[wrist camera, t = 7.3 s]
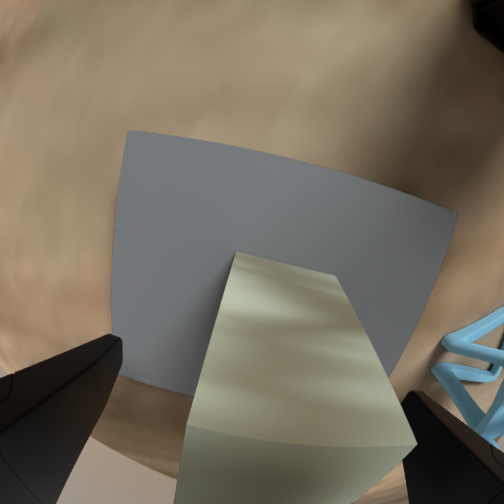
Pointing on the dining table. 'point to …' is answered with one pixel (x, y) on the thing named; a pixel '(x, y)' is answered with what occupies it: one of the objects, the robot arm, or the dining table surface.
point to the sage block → (289, 396)
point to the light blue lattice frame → (475, 375)
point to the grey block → (256, 247)
